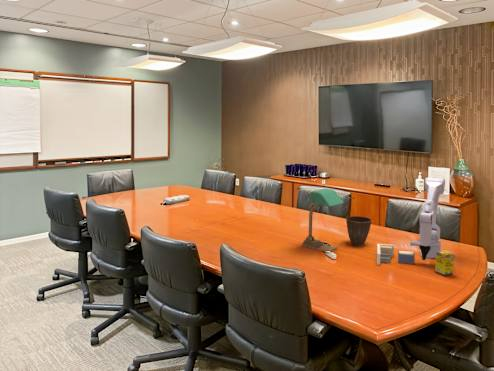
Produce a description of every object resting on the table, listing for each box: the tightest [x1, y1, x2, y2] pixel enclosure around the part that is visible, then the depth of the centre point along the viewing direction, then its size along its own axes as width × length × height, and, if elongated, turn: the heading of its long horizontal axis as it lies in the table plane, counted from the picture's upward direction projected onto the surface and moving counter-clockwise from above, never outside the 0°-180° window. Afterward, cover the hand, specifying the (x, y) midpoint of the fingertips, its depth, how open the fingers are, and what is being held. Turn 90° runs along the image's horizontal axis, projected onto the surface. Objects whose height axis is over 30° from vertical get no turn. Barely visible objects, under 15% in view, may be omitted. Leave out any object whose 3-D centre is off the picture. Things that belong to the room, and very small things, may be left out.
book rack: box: [376, 243, 395, 266], centre depth 233 cm, size 9×19×6 cm, turn 164°
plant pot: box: [345, 215, 373, 247], centre depth 261 cm, size 15×15×16 cm
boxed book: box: [397, 250, 416, 265], centre depth 230 cm, size 8×4×6 cm, turn 74°
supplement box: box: [434, 249, 455, 277], centre depth 213 cm, size 6×6×11 cm
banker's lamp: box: [301, 188, 344, 253], centre depth 252 cm, size 16×21×35 cm
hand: (423, 259), depth 227 cm, fingers closed
